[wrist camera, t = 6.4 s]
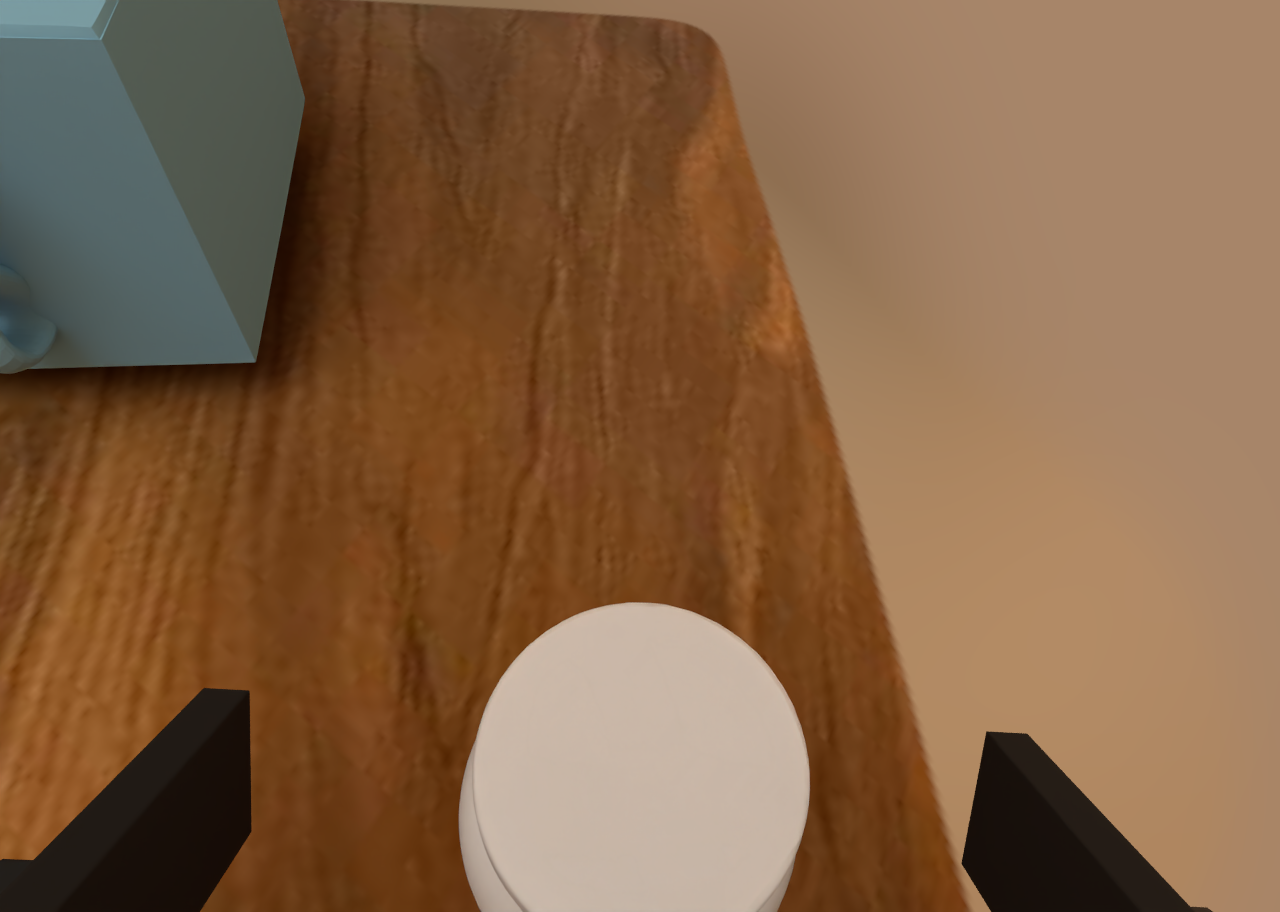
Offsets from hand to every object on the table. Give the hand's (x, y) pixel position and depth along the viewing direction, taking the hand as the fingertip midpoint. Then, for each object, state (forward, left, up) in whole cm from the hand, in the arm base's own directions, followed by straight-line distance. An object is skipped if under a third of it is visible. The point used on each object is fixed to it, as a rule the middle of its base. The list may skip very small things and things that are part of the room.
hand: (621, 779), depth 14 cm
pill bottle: (0, 0, -6) cm, 6 cm away
